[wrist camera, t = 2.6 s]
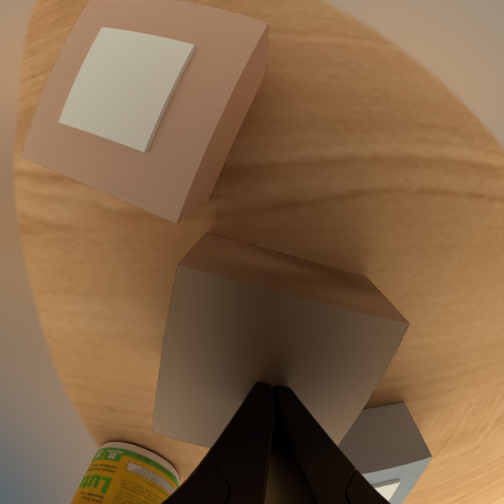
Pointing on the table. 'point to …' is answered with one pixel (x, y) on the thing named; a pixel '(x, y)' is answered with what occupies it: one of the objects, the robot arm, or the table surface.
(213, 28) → the tan cream-patch box
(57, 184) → the table surface
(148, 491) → the supplement bottle
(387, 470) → the grey cream-patch block
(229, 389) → the walnut block
